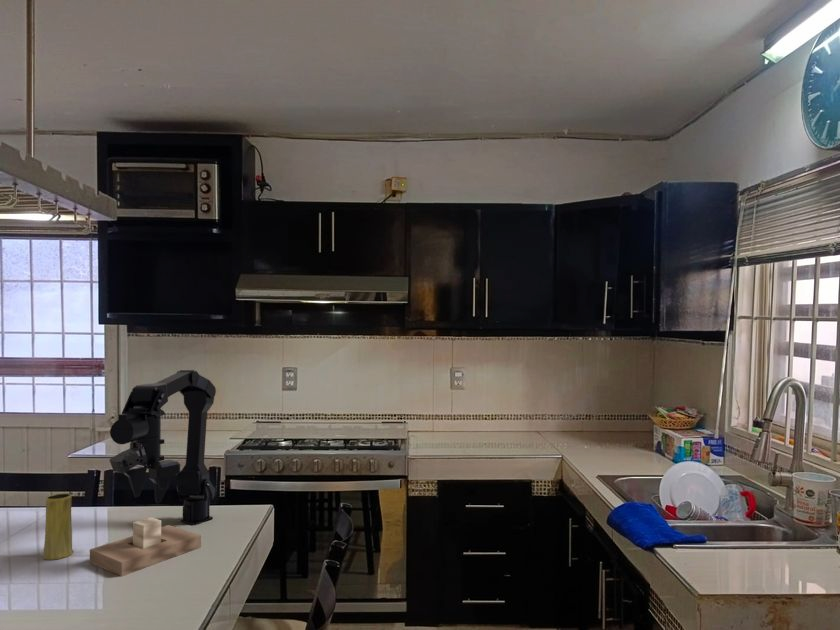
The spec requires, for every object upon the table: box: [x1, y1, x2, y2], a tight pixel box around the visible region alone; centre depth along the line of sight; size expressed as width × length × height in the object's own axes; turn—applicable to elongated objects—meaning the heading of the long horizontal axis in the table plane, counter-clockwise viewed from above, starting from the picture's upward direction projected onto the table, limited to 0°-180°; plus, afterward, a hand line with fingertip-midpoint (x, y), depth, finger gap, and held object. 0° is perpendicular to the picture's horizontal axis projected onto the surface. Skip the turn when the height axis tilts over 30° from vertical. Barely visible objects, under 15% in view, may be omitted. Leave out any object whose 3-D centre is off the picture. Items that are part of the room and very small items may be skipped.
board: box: [89, 524, 202, 577], centre depth 137 cm, size 20×14×3 cm
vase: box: [42, 492, 74, 561], centre depth 137 cm, size 6×6×14 cm
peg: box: [132, 516, 162, 549], centre depth 137 cm, size 4×4×8 cm
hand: (147, 500), depth 138 cm, fingers open, 9 cm apart
